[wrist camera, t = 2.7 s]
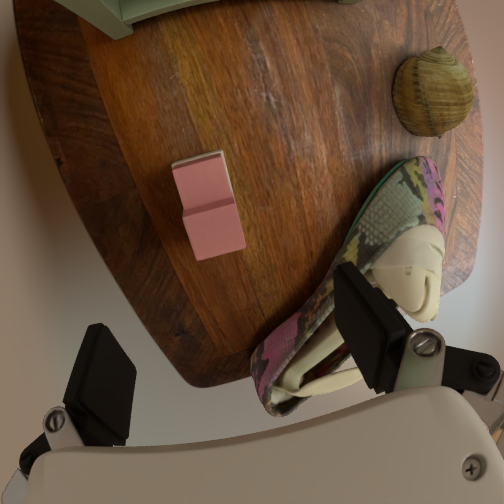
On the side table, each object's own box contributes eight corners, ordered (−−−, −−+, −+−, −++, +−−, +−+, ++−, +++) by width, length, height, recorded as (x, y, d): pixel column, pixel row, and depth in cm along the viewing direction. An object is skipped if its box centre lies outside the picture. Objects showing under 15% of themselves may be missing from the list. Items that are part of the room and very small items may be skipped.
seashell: (405, 123, 26) (471, 133, 21) (394, 149, 23) (474, 163, 18) (392, 40, 20) (466, 46, 15) (378, 48, 17) (472, 54, 12)
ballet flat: (447, 193, 27) (516, 235, 17) (290, 375, 36) (312, 443, 27) (399, 131, 22) (488, 159, 13) (223, 355, 32) (234, 436, 23)
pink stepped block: (241, 227, 25) (248, 250, 21) (196, 239, 25) (196, 264, 21) (221, 148, 21) (225, 157, 18) (172, 162, 21) (166, 174, 17)
